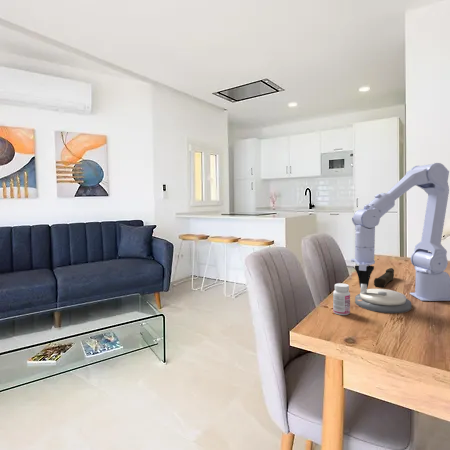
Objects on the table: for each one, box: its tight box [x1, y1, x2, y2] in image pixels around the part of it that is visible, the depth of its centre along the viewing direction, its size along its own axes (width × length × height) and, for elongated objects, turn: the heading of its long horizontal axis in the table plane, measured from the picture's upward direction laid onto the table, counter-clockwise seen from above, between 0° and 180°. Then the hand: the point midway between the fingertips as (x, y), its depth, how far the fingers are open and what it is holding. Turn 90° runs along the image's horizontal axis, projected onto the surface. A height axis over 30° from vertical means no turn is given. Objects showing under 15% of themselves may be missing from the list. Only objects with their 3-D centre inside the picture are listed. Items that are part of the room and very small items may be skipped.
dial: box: [359, 284, 407, 306], centre depth 102 cm, size 13×13×4 cm
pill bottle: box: [332, 282, 351, 316], centre depth 95 cm, size 5×5×8 cm
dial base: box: [354, 293, 412, 314], centre depth 102 cm, size 16×16×2 cm
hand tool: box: [373, 267, 395, 289], centre depth 127 cm, size 19×4×5 cm, turn 137°
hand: (363, 288), depth 105 cm, fingers closed, pressing on dial
